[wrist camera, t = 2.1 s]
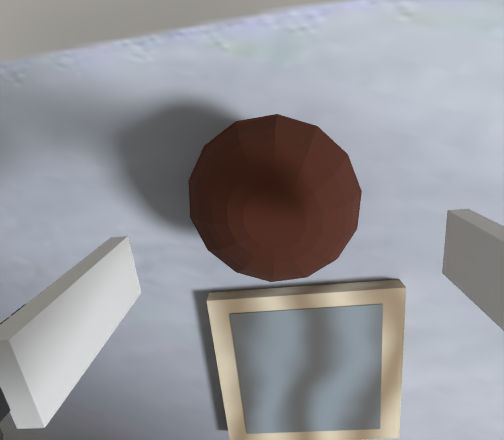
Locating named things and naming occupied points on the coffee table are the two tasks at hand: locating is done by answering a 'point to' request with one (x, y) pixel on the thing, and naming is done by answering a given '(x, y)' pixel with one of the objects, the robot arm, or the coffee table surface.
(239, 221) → the muffin
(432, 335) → the coffee table surface
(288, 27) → the coffee table surface
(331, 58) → the coffee table surface
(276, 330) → the gold framed mirror
